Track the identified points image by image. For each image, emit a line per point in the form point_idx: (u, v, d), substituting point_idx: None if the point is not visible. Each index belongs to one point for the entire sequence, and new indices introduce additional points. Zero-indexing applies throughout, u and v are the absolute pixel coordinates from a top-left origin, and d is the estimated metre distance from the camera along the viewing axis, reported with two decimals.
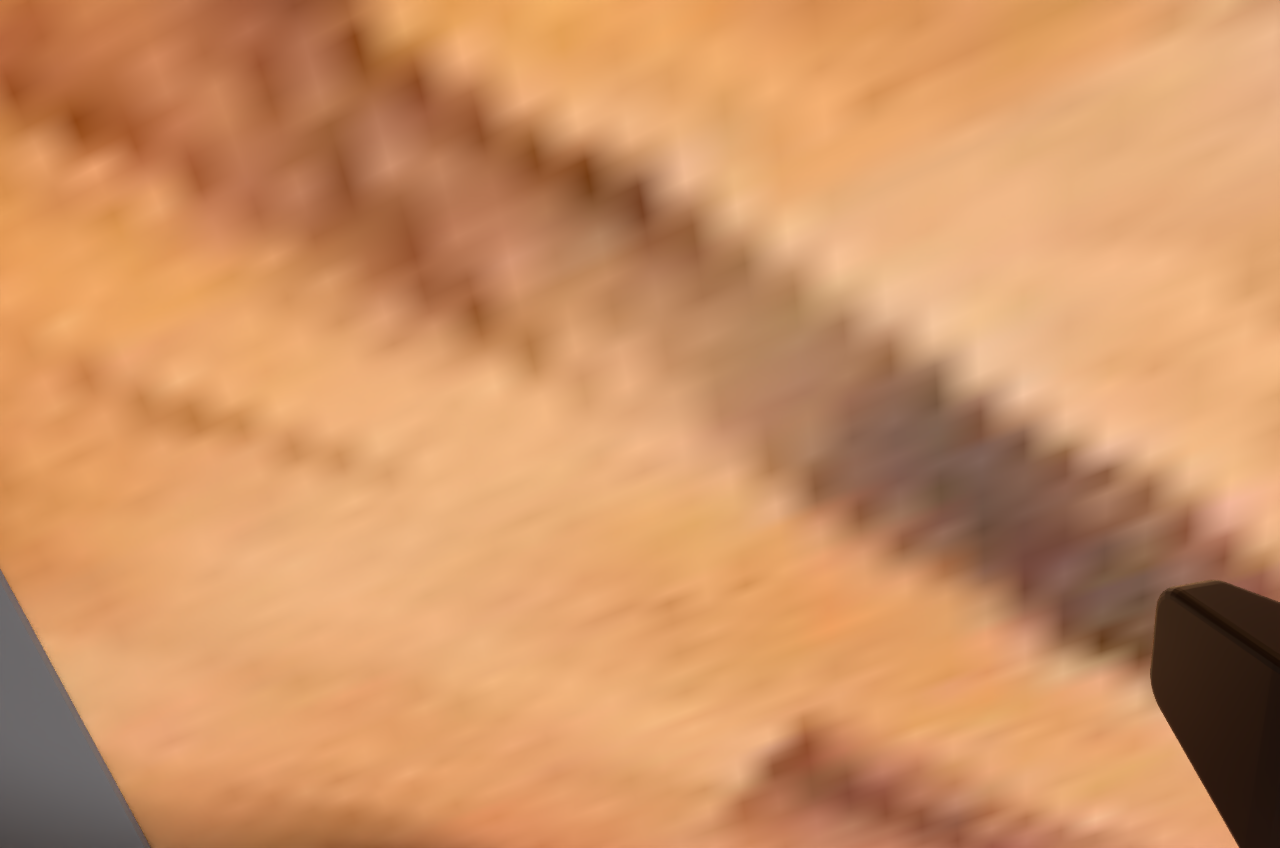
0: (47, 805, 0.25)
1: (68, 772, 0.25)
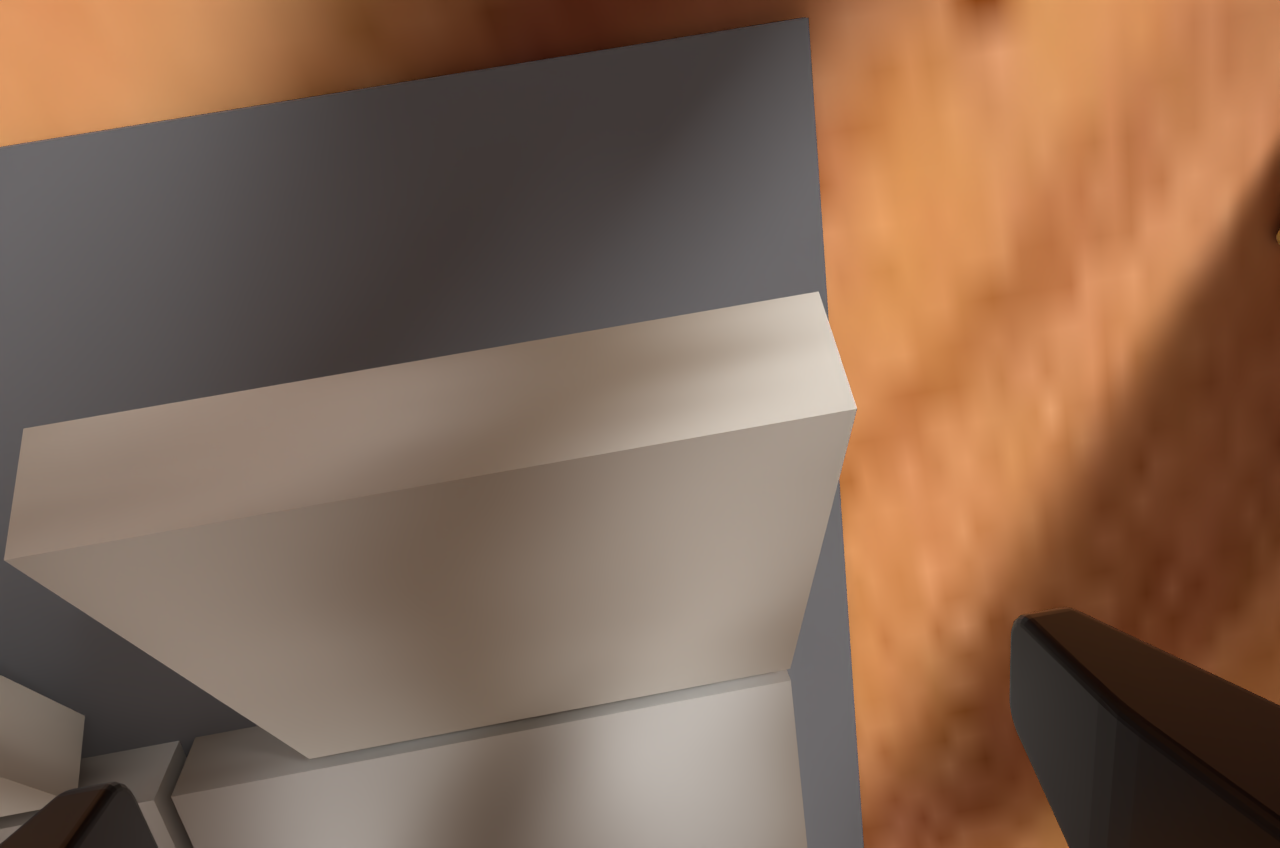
0: (17, 262, 0.15)
1: None
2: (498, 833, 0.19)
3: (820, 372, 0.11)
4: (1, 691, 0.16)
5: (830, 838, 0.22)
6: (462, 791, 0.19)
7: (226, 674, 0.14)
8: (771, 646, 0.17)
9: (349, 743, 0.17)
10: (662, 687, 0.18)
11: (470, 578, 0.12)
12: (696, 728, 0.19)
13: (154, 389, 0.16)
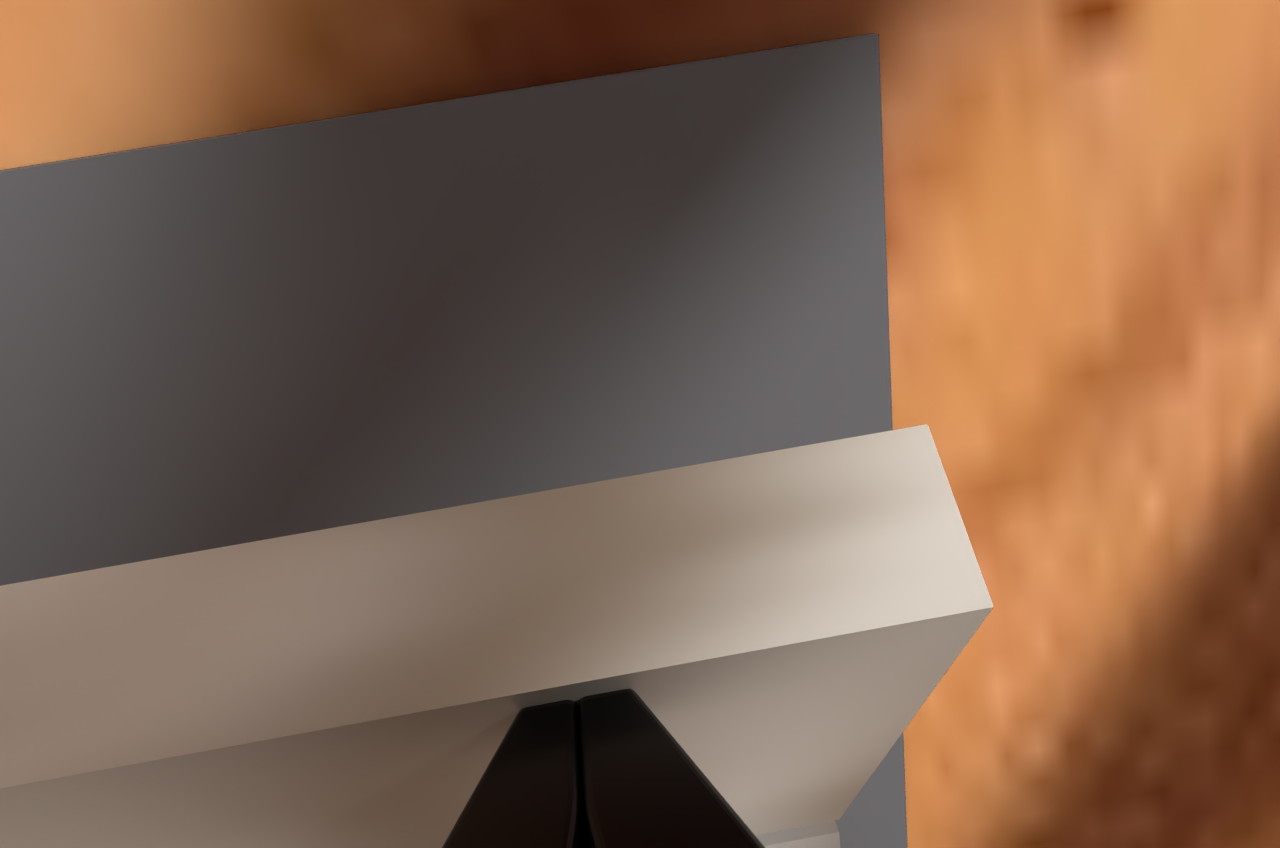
0: None
1: None
2: None
3: (937, 549, 0.07)
4: None
5: None
6: None
7: None
8: (821, 806, 0.14)
9: None
10: None
11: (442, 791, 0.09)
12: None
13: (58, 490, 0.13)
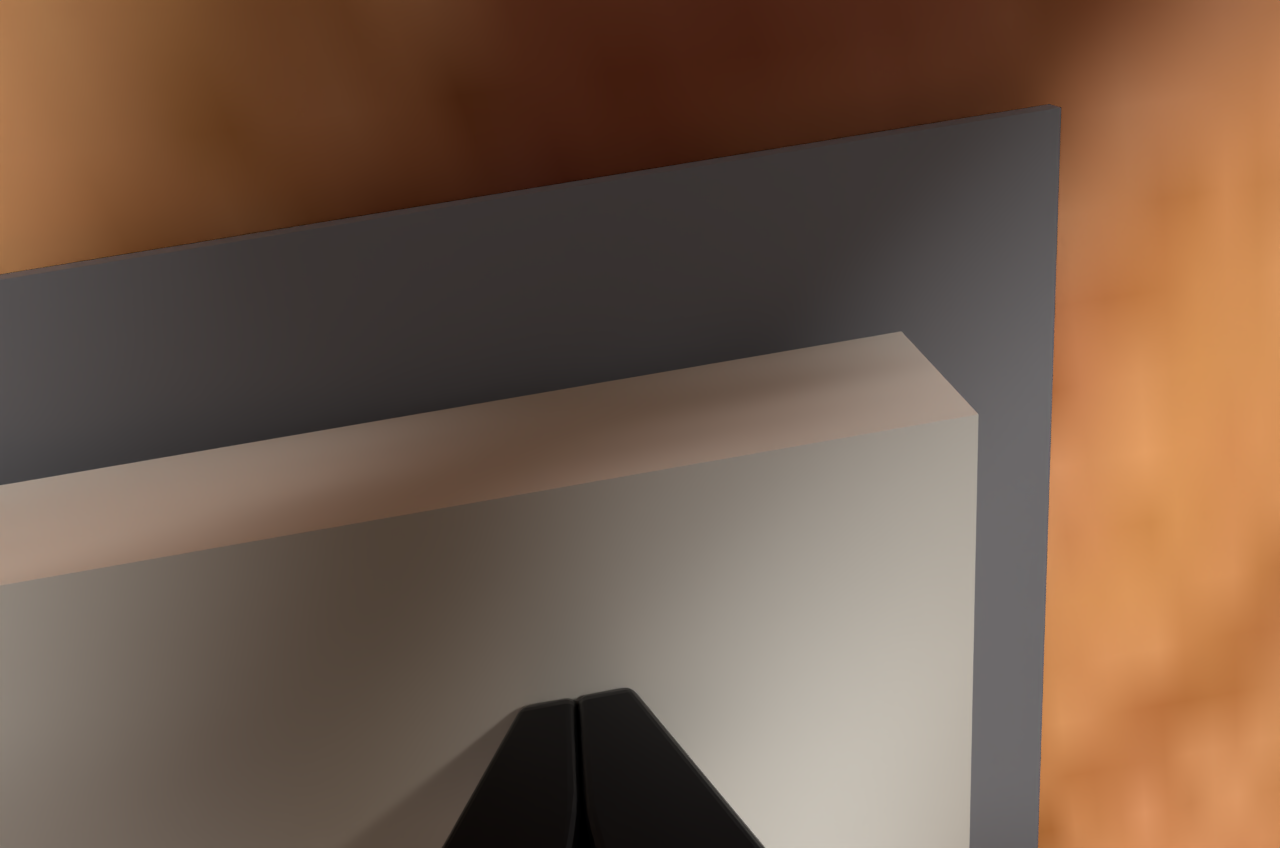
0: None
1: None
2: None
3: (915, 388, 0.07)
4: None
5: None
6: None
7: None
8: None
9: None
10: None
11: (405, 805, 0.08)
12: None
13: None
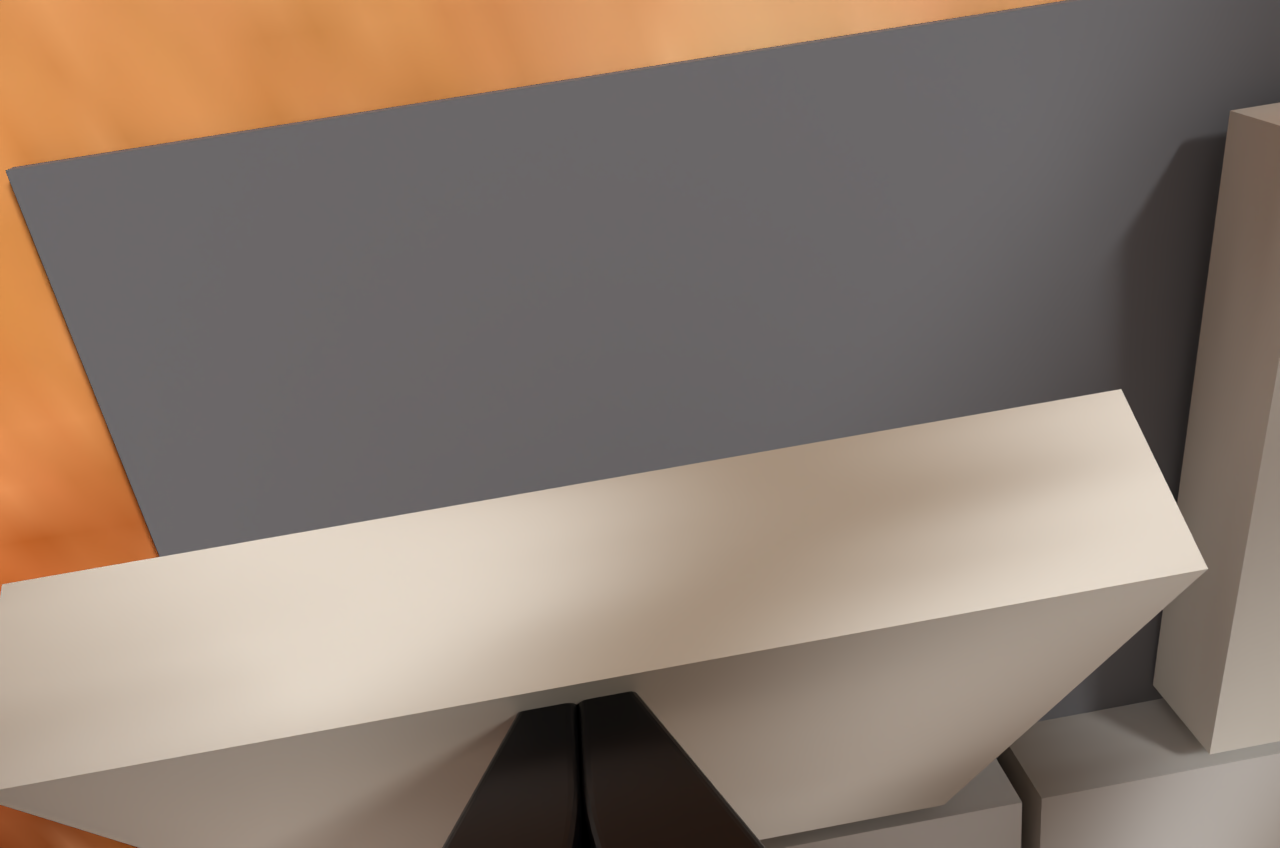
0: (1032, 148, 0.13)
1: (967, 86, 0.12)
2: None
3: None
4: None
5: None
6: None
7: None
8: None
9: (1269, 720, 0.15)
10: None
11: None
12: None
13: (1119, 310, 0.14)
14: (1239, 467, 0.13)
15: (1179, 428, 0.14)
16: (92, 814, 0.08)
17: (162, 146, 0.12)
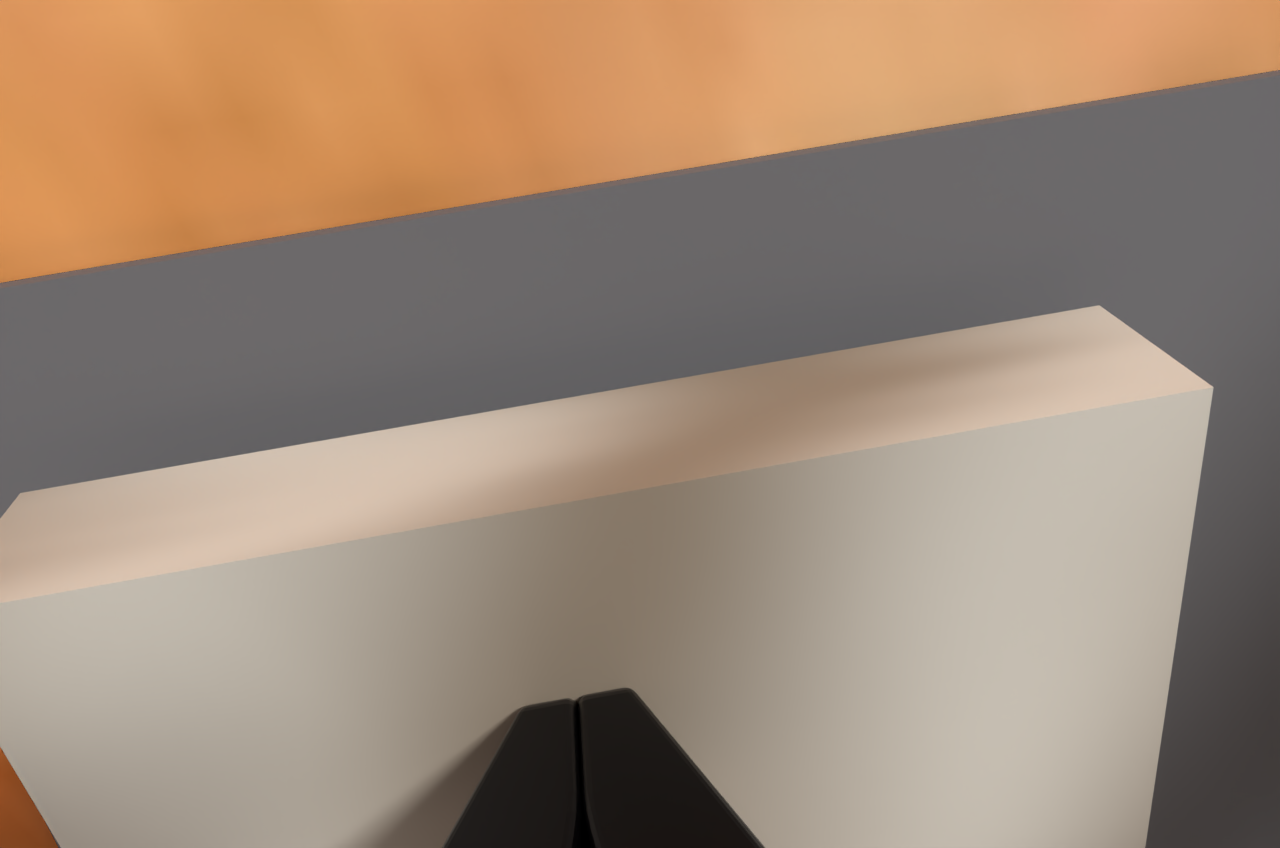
0: (1261, 268, 0.09)
1: (1177, 185, 0.09)
2: None
3: None
4: None
5: None
6: None
7: None
8: None
9: None
10: None
11: None
12: None
13: None
14: None
15: None
16: (35, 726, 0.07)
17: (18, 286, 0.08)
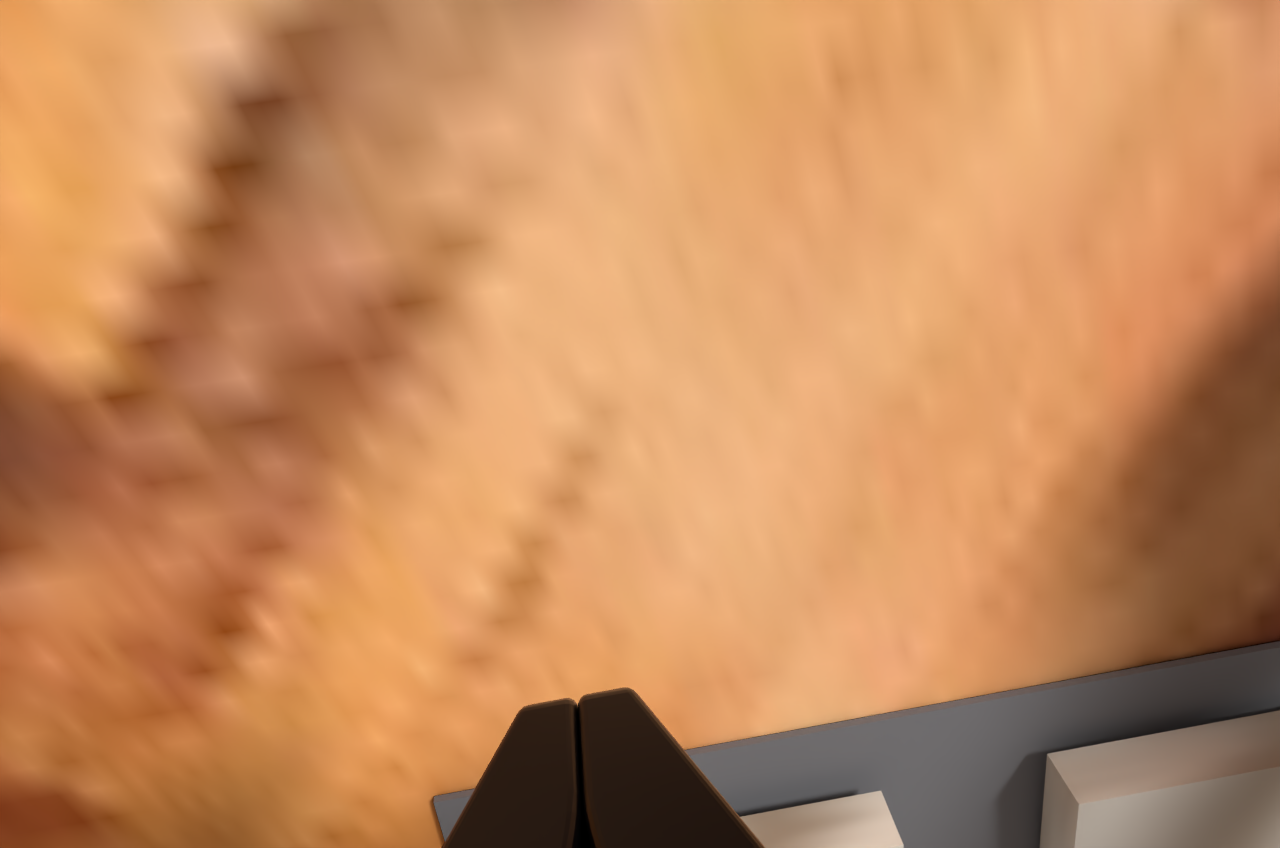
0: (947, 762, 0.24)
1: (912, 740, 0.24)
2: None
3: None
4: None
5: None
6: None
7: None
8: None
9: None
10: None
11: None
12: None
13: (997, 824, 0.25)
14: None
15: None
16: None
17: None
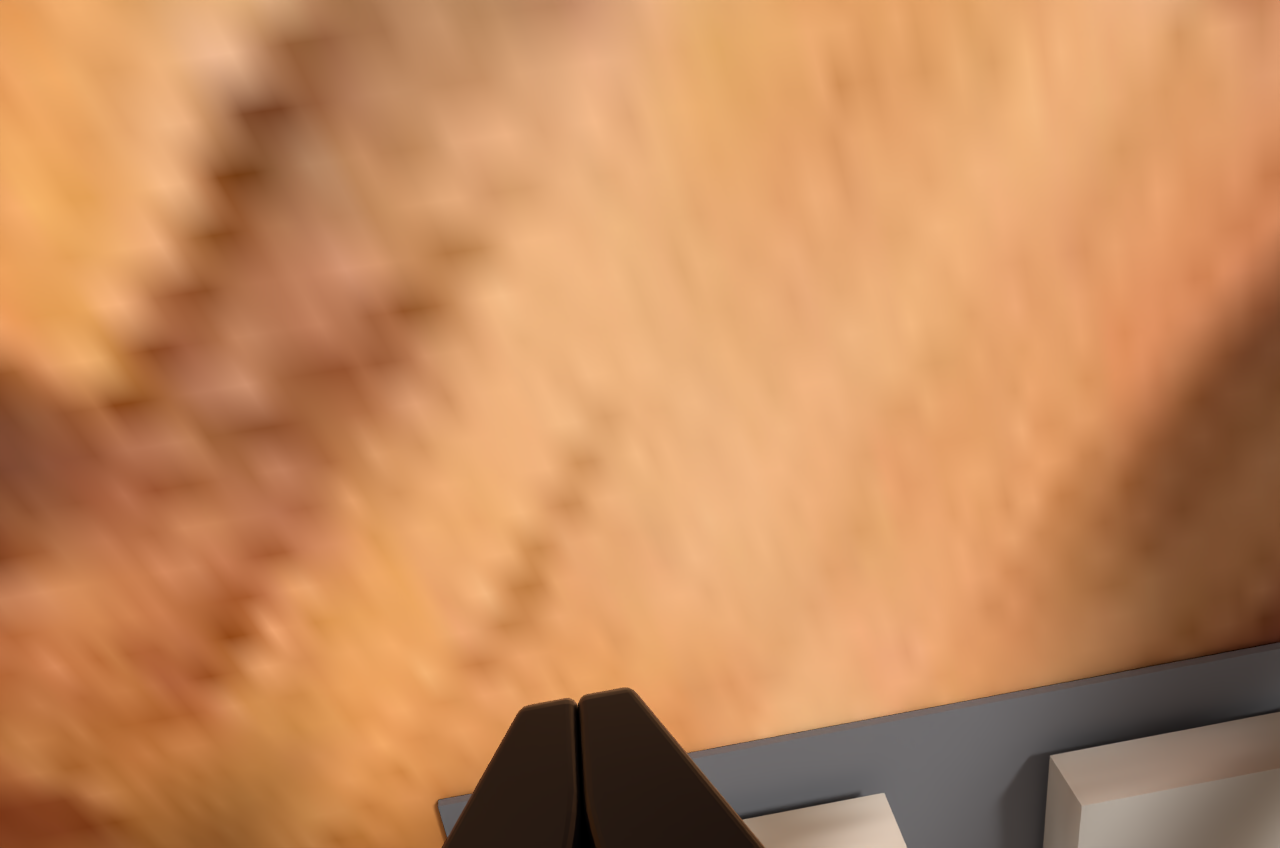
0: (950, 763, 0.24)
1: (915, 742, 0.24)
2: None
3: None
4: None
5: None
6: None
7: None
8: None
9: None
10: None
11: None
12: None
13: (1000, 826, 0.25)
14: None
15: None
16: None
17: None
